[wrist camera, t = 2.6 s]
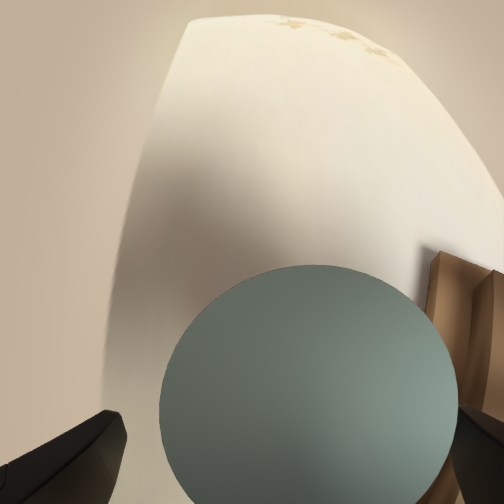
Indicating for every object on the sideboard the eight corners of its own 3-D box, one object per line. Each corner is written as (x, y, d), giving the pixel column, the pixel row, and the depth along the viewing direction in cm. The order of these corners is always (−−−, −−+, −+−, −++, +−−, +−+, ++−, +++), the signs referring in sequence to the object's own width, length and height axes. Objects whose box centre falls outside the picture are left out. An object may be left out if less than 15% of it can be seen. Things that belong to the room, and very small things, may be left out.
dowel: (331, 450, 14) (484, 469, 3) (245, 474, 13) (202, 574, 2) (307, 373, 16) (395, 239, 5) (224, 395, 15) (140, 300, 5)
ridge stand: (449, 568, 8) (483, 584, 4) (336, 565, 10) (355, 594, 6) (513, 295, 17) (544, 268, 14) (431, 262, 19) (457, 227, 16)
